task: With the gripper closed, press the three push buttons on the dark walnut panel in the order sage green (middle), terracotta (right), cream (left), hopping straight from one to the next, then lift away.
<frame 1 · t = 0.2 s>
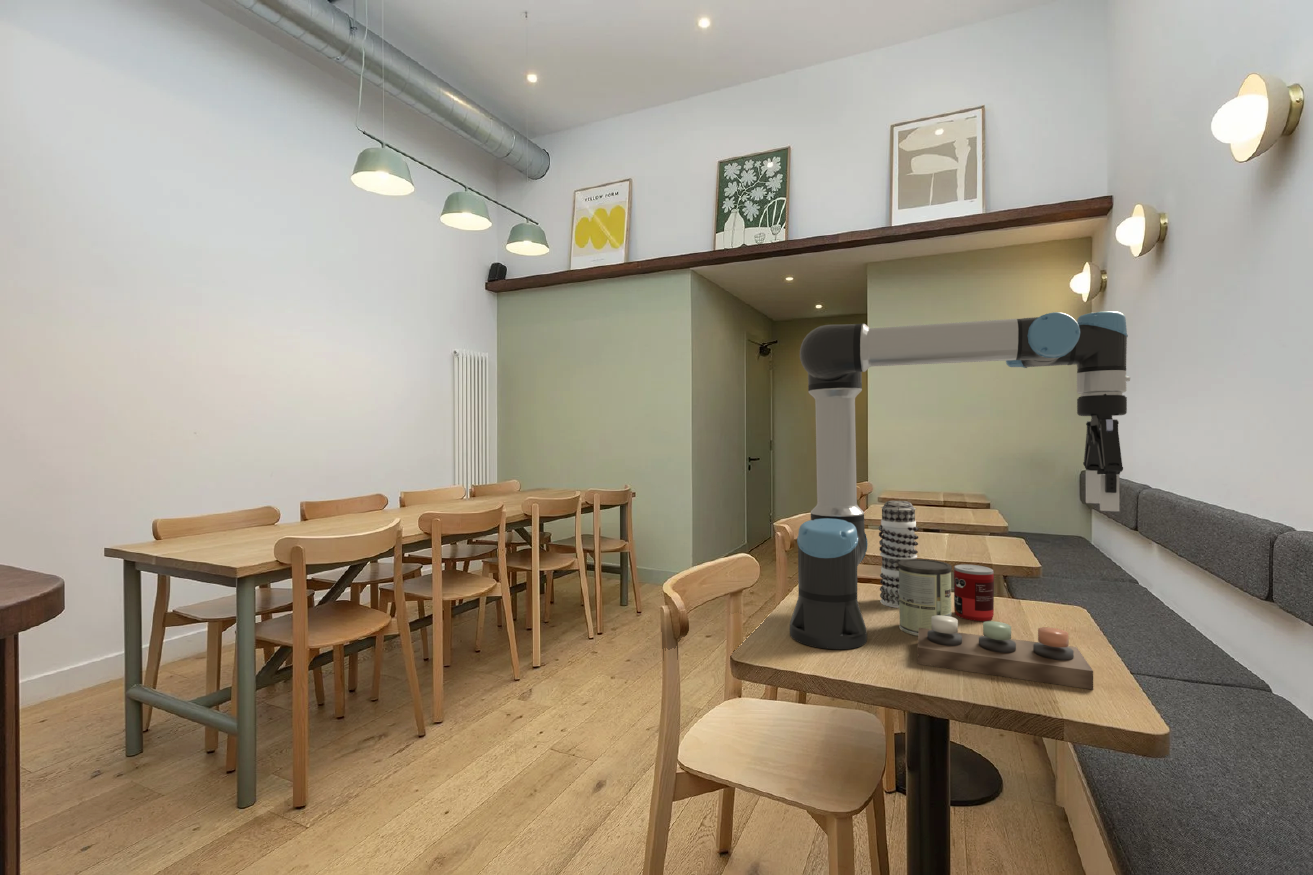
hand: (1101, 507, 112), 28 cm above the table, tool pointing down, fingers open, 13 cm apart
decorative candle: (898, 604, 145), on the table
coffee can: (924, 630, 125), on the table
button cream: (944, 624, 110), point 6 cm above the table, slide at 0.0 cm
canned food: (973, 617, 134), on the table
button panel: (997, 663, 106), on the table
button green: (996, 630, 106), point 6 cm above the table, slide at 0.0 cm
button terracotta: (1053, 637, 103), point 6 cm above the table, slide at 0.0 cm
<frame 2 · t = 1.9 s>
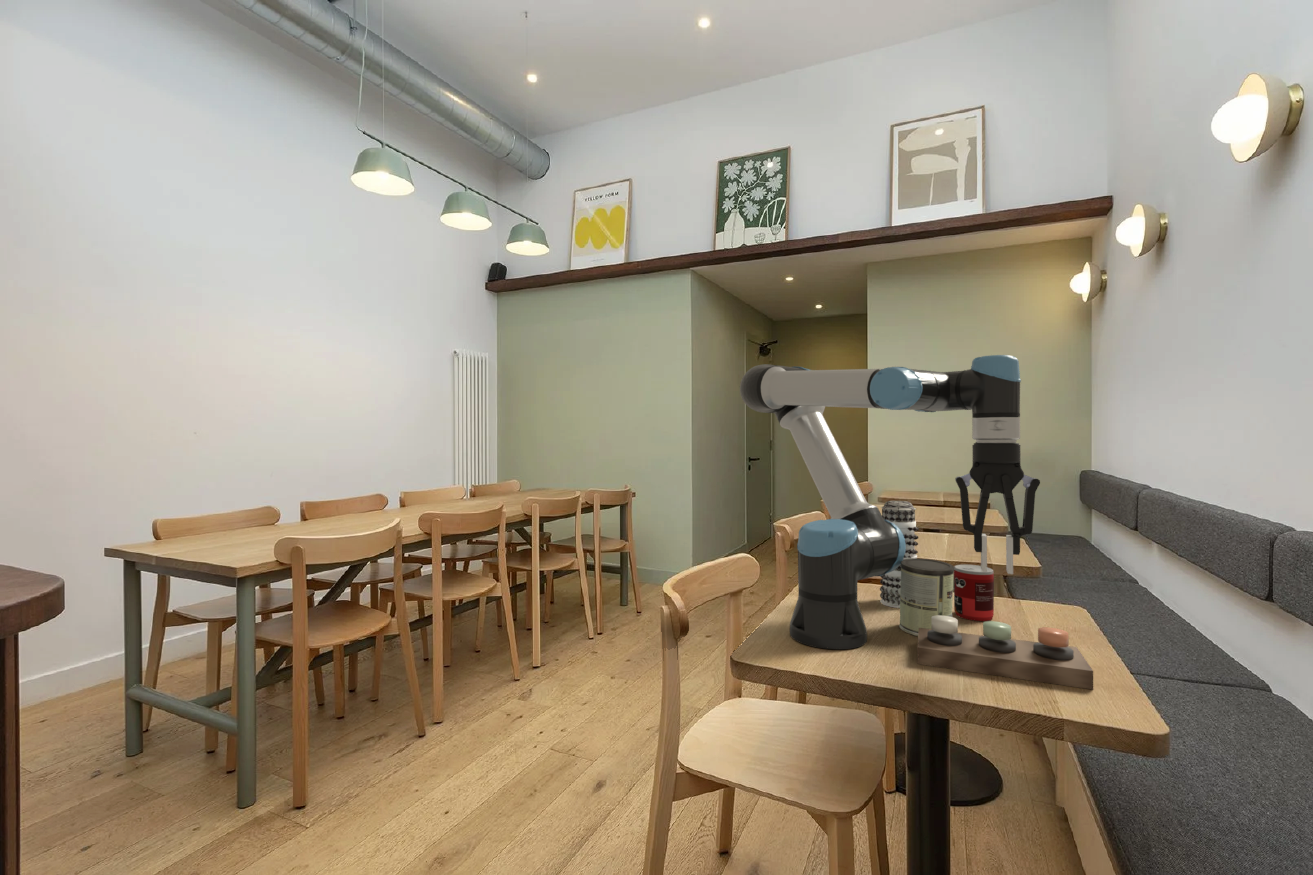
hand: (996, 571, 106), 17 cm above the table, tool pointing down, fingers open, 3 cm apart
coffee can: (924, 630, 125), on the table, touching arm
everything else where it was.
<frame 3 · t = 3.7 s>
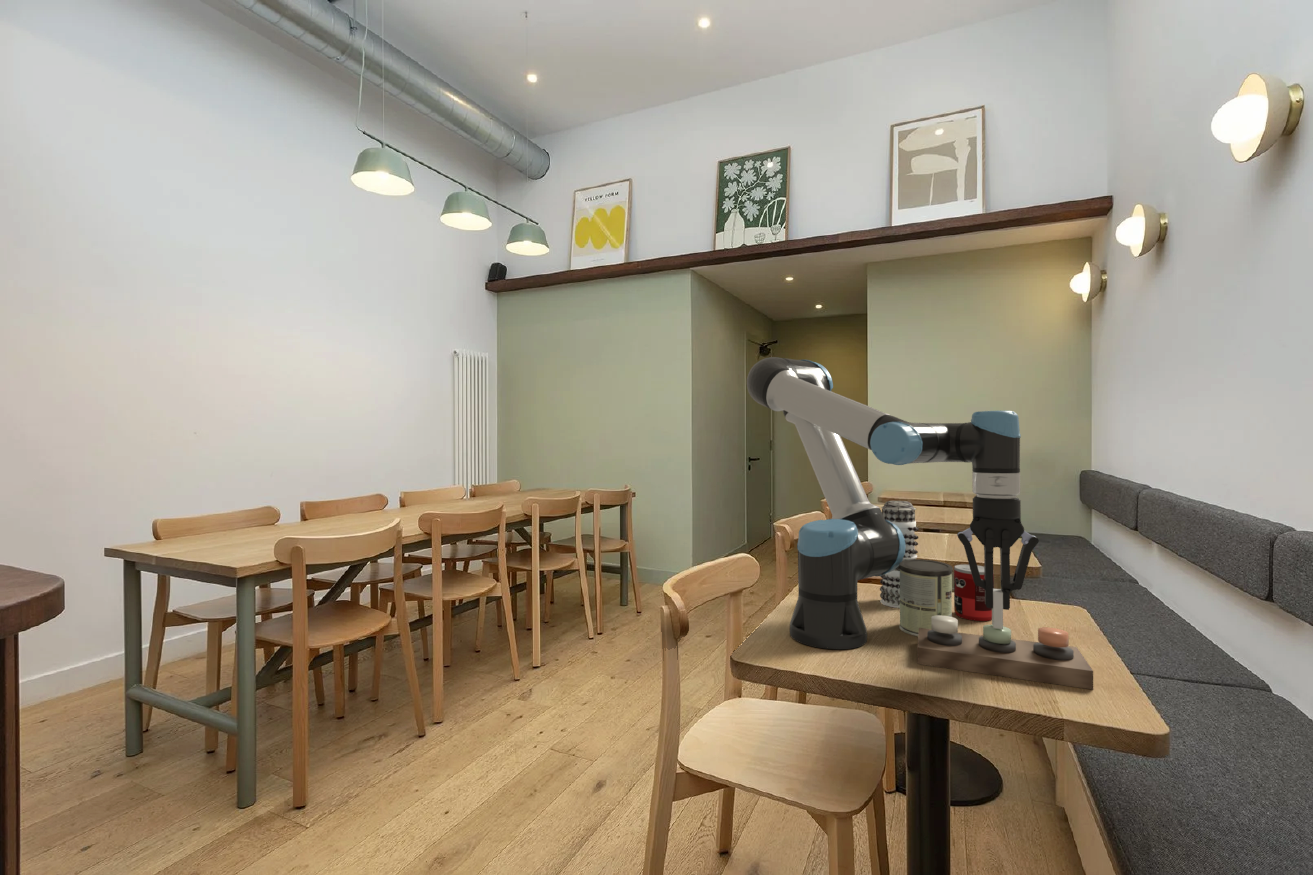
hand: (997, 626, 106), 7 cm above the table, tool pointing down, fingers closed
button green: (996, 633, 106), point 5 cm above the table, slide at 0.6 cm, touching gripper
everything else where it was.
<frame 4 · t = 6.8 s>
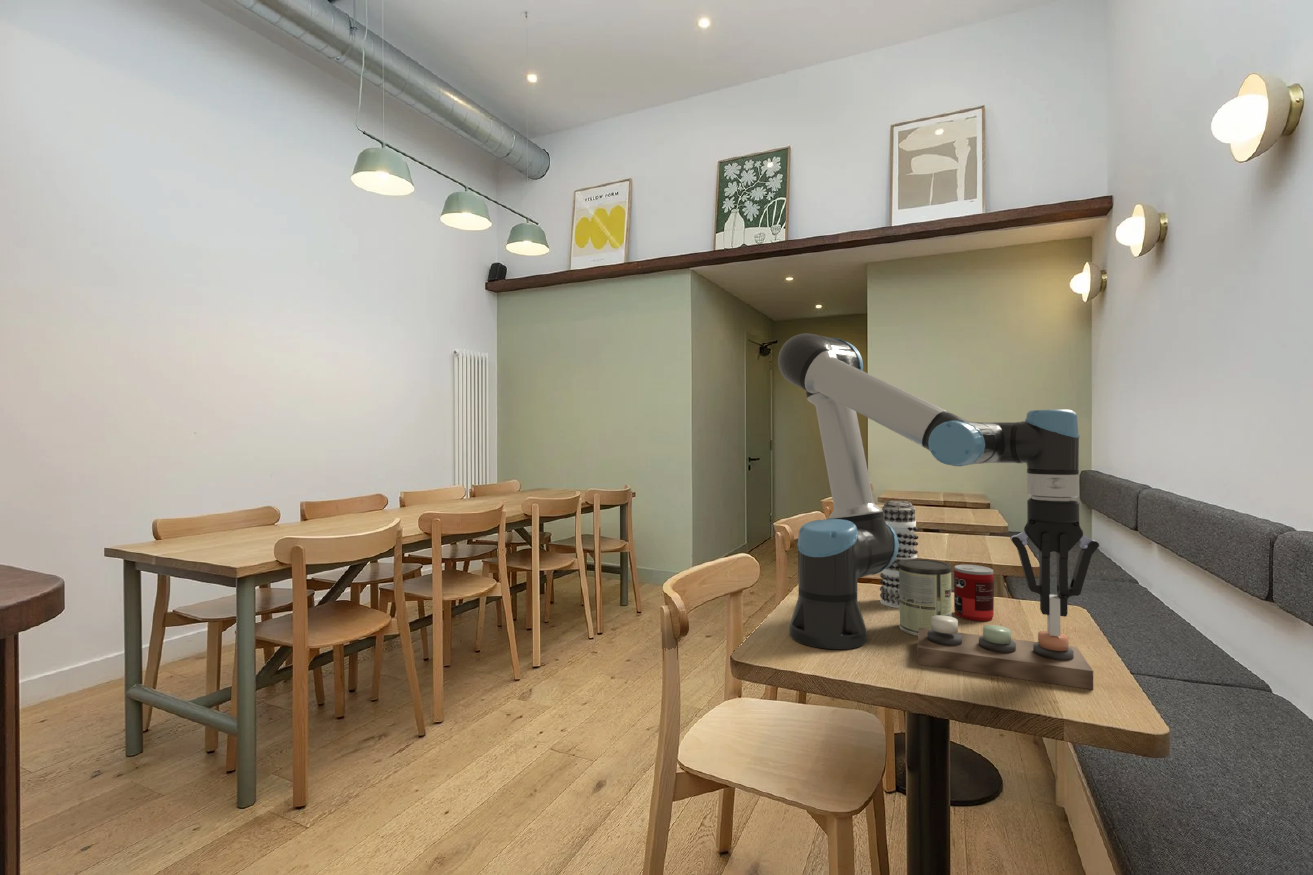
hand: (1053, 633, 102), 7 cm above the table, tool pointing down, fingers closed
coffee can: (924, 630, 125), on the table
button green: (996, 634, 106), point 5 cm above the table, slide at 0.7 cm
button terracotta: (1053, 640, 103), point 5 cm above the table, slide at 0.6 cm, touching gripper
everything else where it was.
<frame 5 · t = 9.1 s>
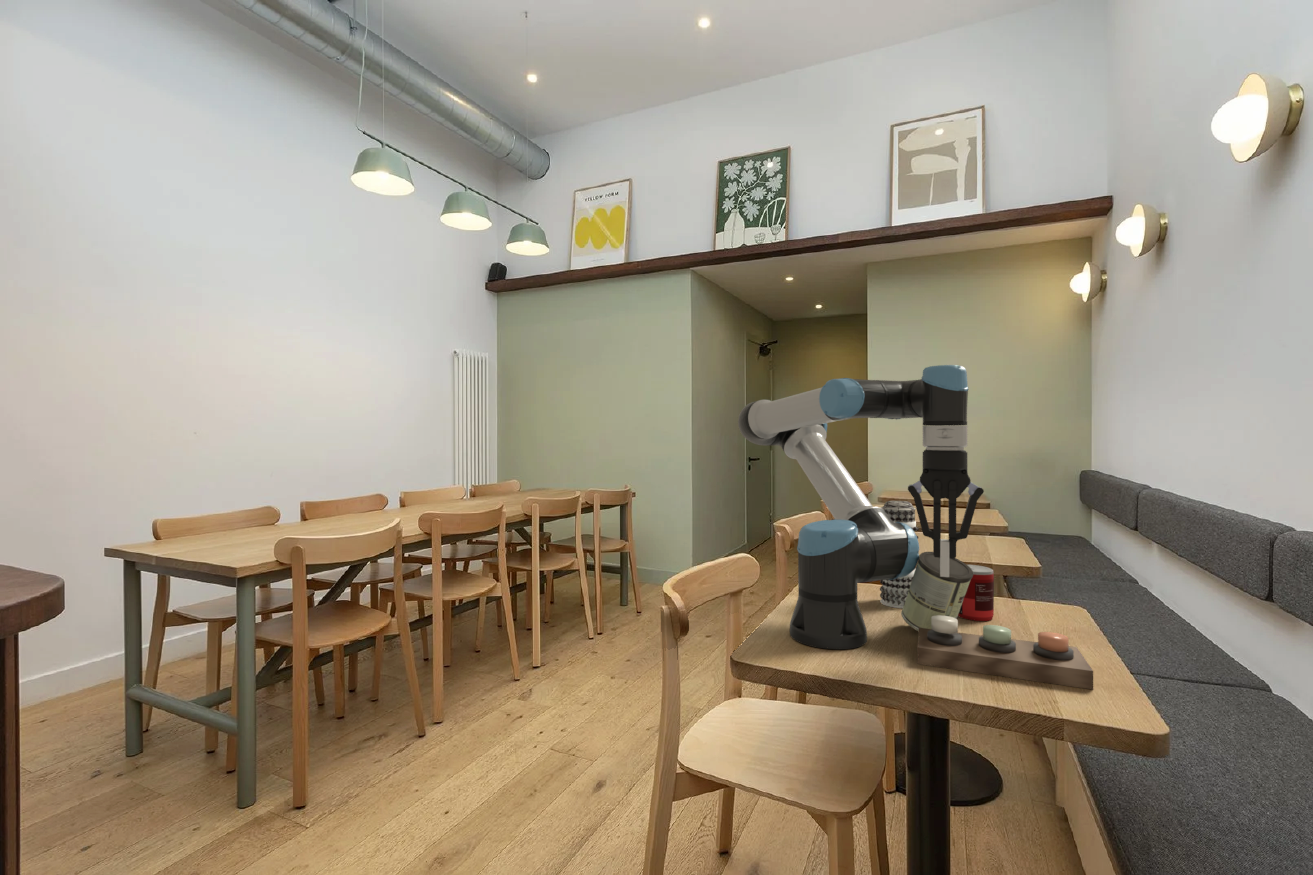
hand: (944, 575, 110), 15 cm above the table, tool pointing down, fingers closed
coffee can: (925, 622, 124), point 2 cm above the table, touching arm
button terracotta: (1053, 641, 103), point 5 cm above the table, slide at 0.8 cm
everything else where it was.
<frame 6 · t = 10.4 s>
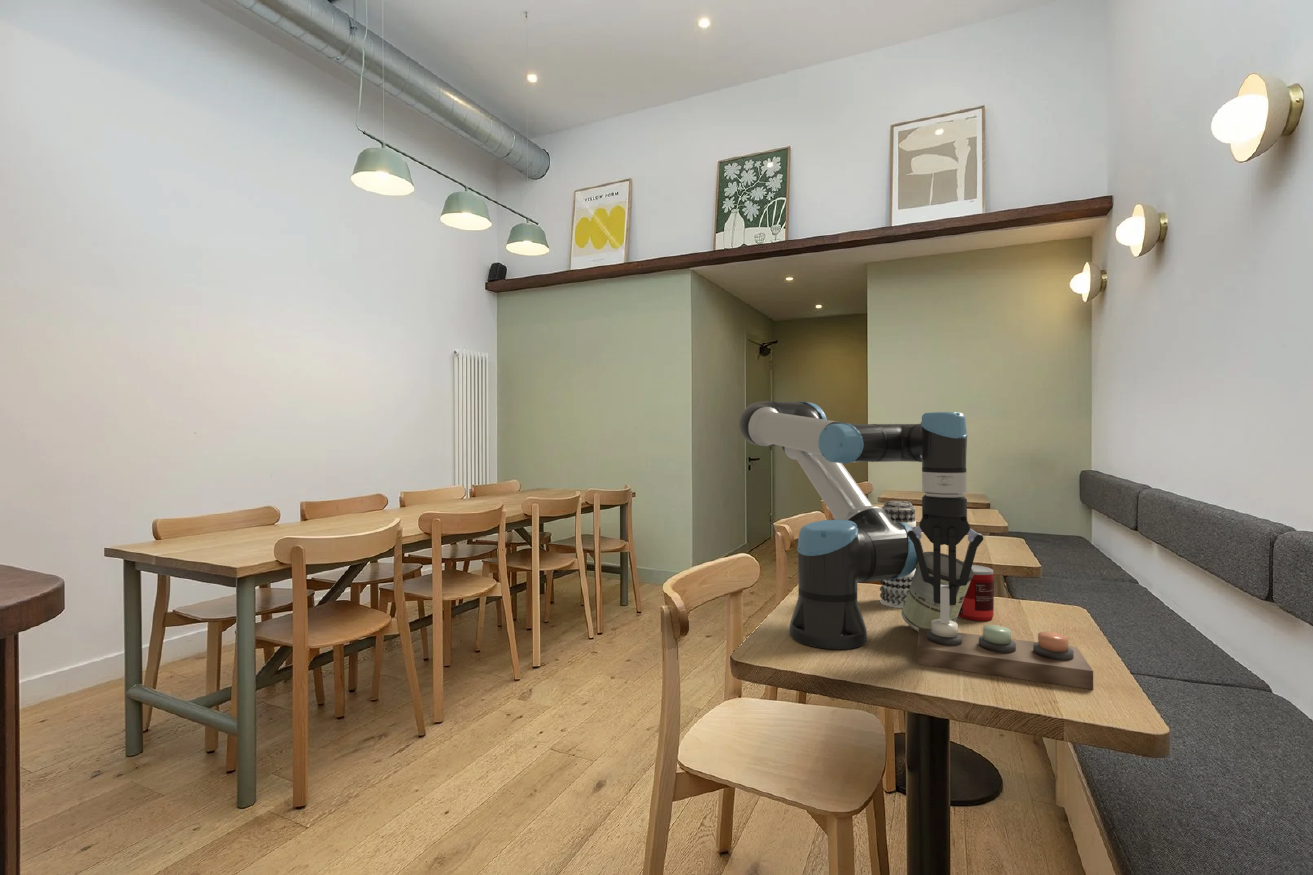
hand: (944, 621, 110), 7 cm above the table, tool pointing down, fingers closed
button cream: (944, 628, 110), point 5 cm above the table, slide at 0.7 cm, touching gripper
everything else where it was.
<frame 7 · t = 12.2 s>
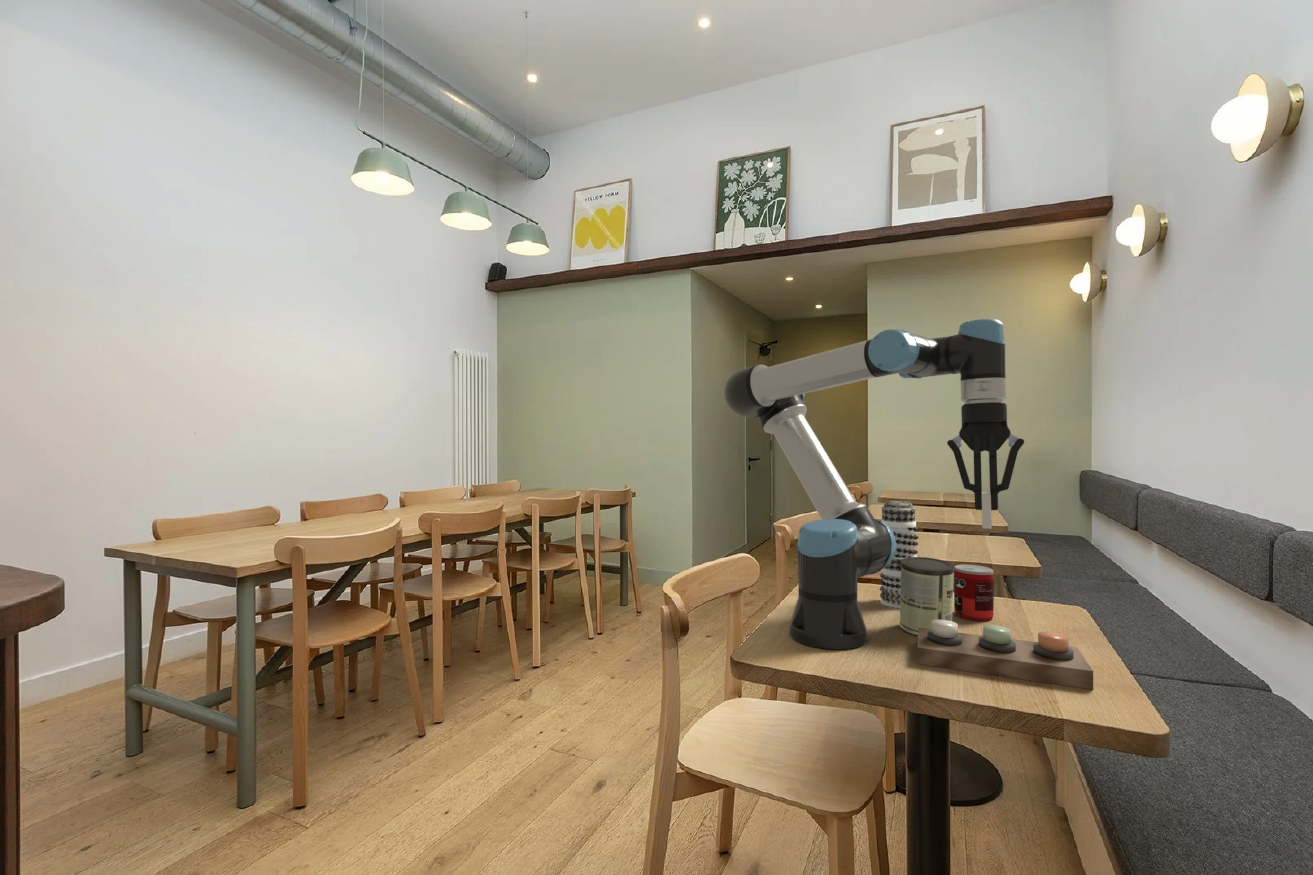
hand: (986, 527, 111), 24 cm above the table, tool pointing down, fingers closed
coffee can: (924, 629, 125), on the table
button cream: (944, 628, 110), point 5 cm above the table, slide at 0.8 cm
everything else where it was.
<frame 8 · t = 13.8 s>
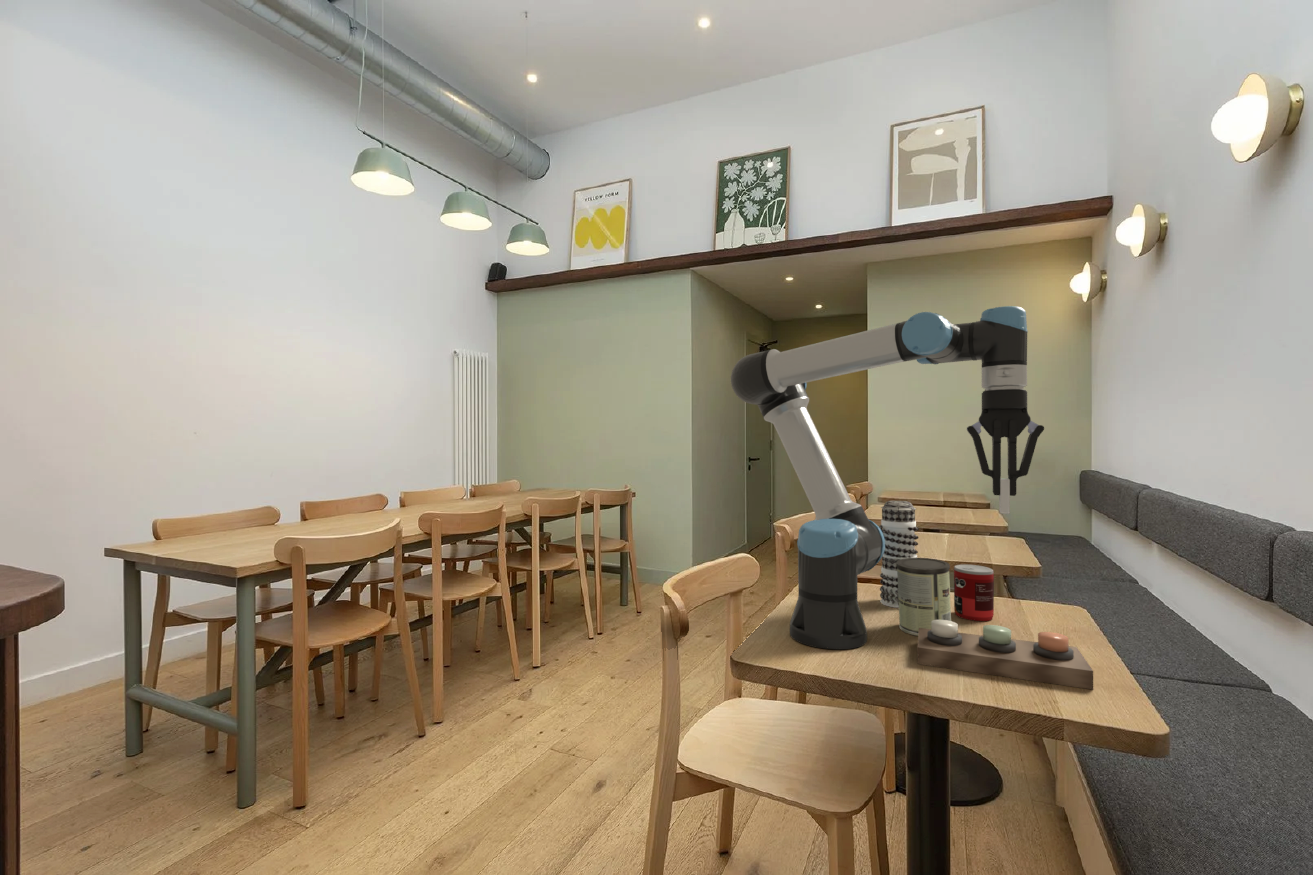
hand: (1004, 512, 113), 26 cm above the table, tool pointing down, fingers closed
at the end: button green slide at 0.7 cm; button terracotta slide at 0.8 cm; button cream slide at 0.8 cm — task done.
